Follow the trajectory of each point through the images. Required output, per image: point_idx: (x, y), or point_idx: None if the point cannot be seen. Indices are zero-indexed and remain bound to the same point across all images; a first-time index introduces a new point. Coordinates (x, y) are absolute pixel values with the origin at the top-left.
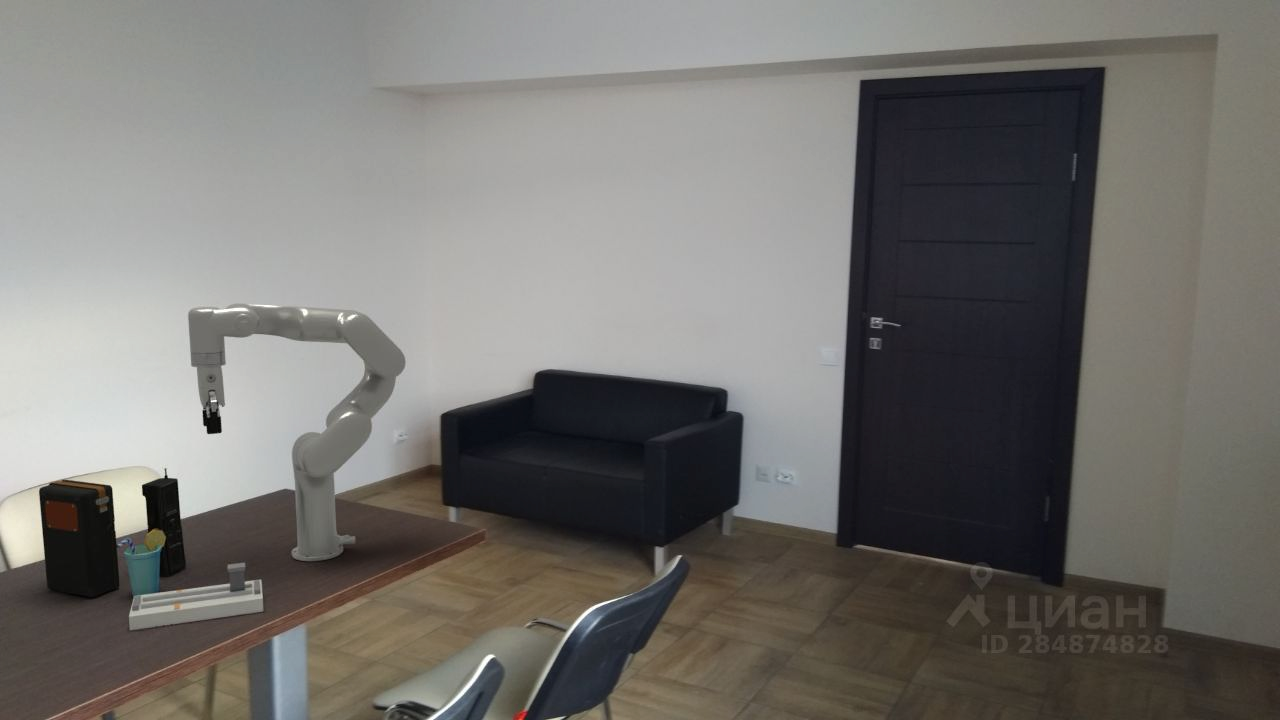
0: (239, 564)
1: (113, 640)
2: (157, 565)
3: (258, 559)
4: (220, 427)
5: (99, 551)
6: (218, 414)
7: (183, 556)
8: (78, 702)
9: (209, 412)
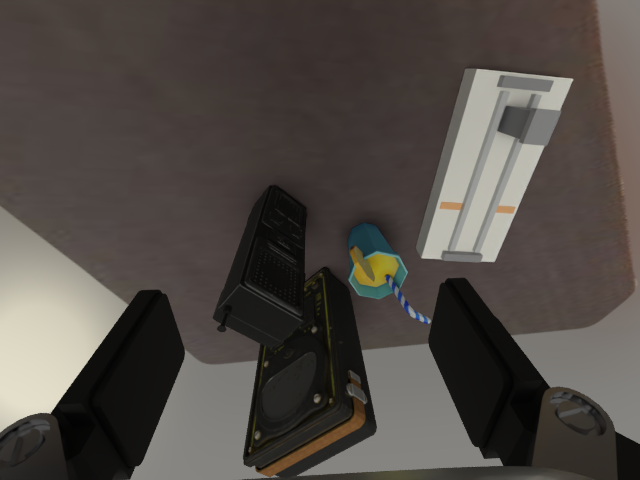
0: (539, 121)
1: (501, 265)
2: (384, 243)
3: (277, 50)
4: (482, 306)
5: (349, 325)
6: (604, 426)
7: (274, 195)
8: (630, 285)
9: (133, 421)
